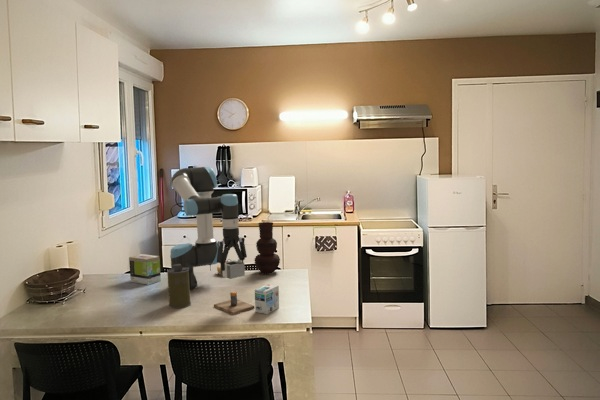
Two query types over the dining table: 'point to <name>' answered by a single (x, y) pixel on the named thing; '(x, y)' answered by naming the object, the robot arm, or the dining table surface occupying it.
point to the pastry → (220, 268)
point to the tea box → (145, 269)
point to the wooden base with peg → (234, 305)
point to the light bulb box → (266, 298)
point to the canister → (179, 286)
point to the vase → (266, 249)
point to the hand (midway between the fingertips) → (232, 275)
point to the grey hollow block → (234, 269)
